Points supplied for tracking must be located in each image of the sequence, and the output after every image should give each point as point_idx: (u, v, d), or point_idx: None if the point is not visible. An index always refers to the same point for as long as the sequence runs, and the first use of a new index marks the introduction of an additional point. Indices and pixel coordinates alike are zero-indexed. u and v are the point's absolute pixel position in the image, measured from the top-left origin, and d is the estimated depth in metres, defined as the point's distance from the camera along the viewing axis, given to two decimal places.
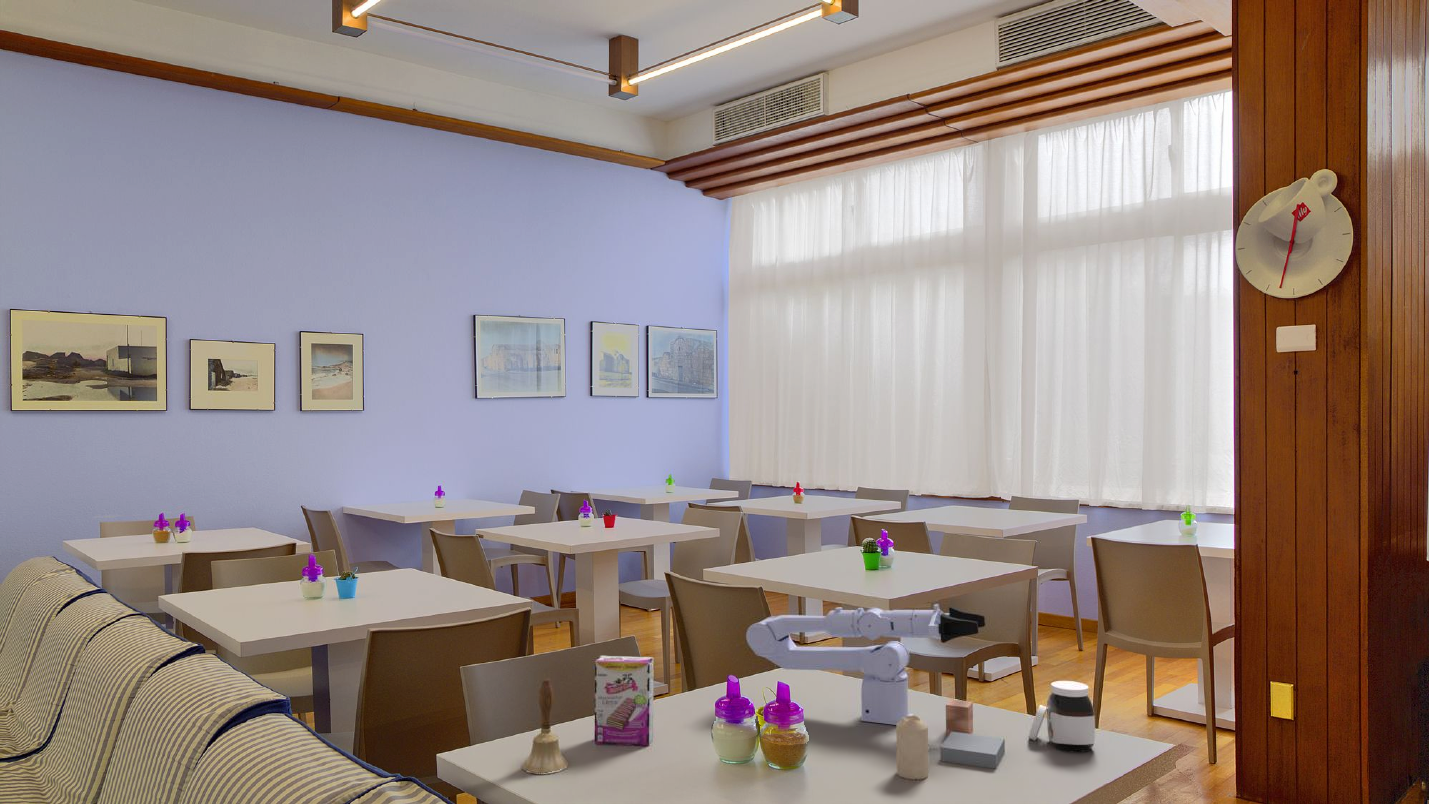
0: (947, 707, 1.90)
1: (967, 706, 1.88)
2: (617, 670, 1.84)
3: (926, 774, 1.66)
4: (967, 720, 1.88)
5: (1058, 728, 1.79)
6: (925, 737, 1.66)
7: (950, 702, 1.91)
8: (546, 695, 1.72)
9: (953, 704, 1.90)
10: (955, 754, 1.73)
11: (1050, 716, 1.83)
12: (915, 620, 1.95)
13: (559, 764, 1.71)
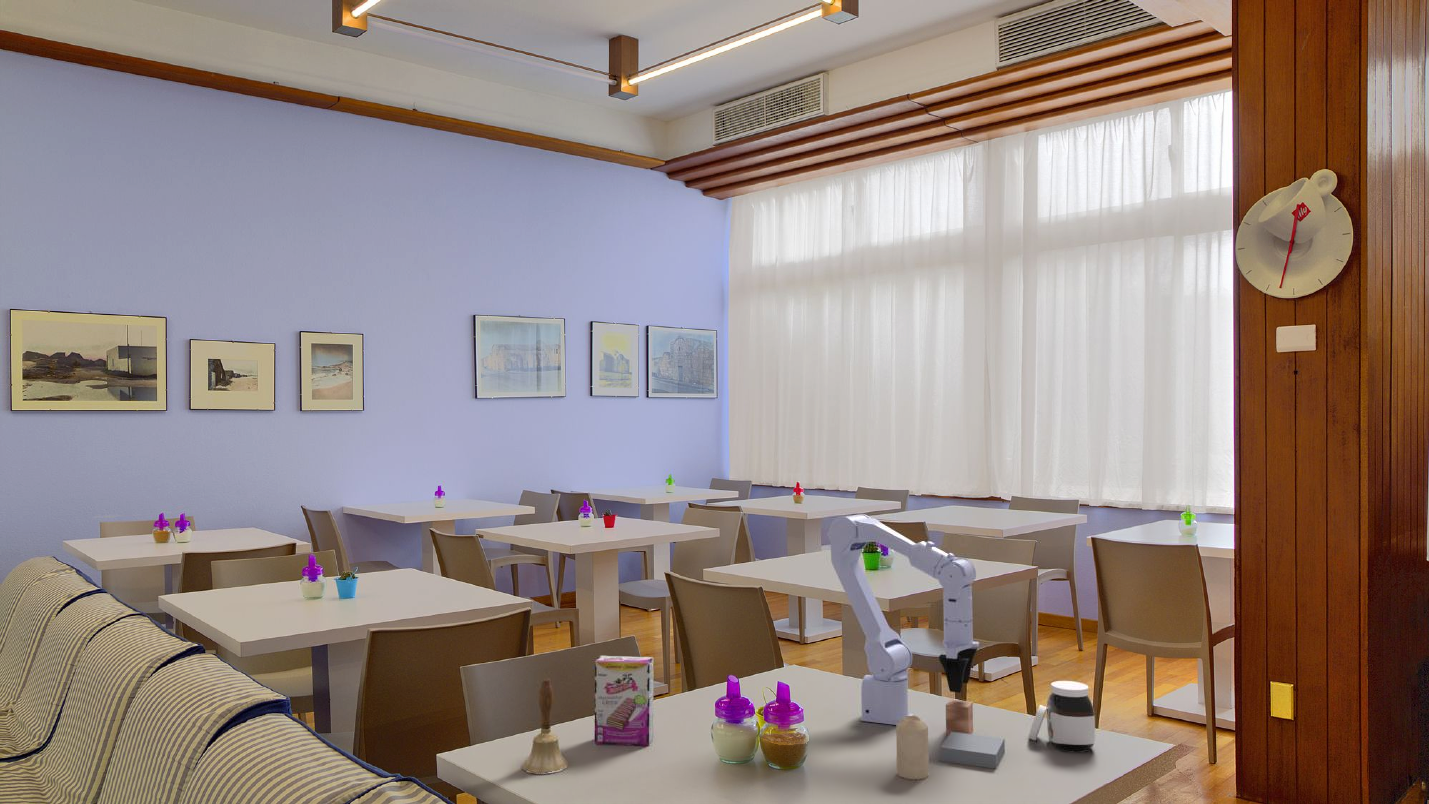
0: (947, 707, 1.90)
1: (967, 706, 1.88)
2: (617, 670, 1.84)
3: (926, 774, 1.66)
4: (967, 720, 1.88)
5: (1058, 728, 1.79)
6: (925, 737, 1.66)
7: (950, 702, 1.91)
8: (546, 695, 1.72)
9: (953, 704, 1.90)
10: (955, 754, 1.73)
11: (1050, 716, 1.83)
12: (961, 626, 1.88)
13: (559, 764, 1.71)
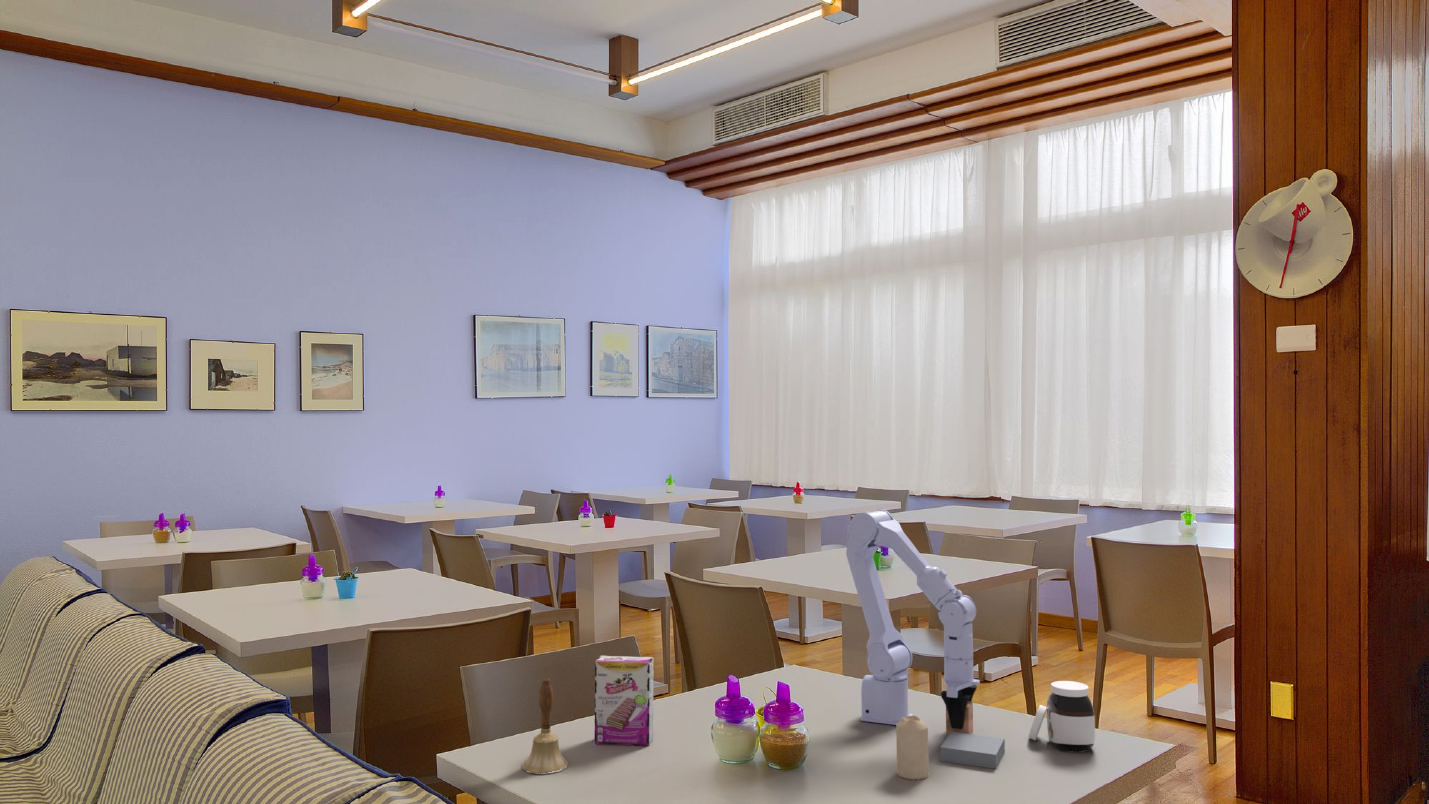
0: None
1: (967, 706, 1.88)
2: (617, 670, 1.84)
3: (926, 774, 1.66)
4: (967, 720, 1.88)
5: (1058, 728, 1.79)
6: (925, 737, 1.66)
7: None
8: (546, 695, 1.72)
9: None
10: (955, 754, 1.73)
11: (1050, 716, 1.83)
12: (961, 664, 1.88)
13: (559, 764, 1.71)
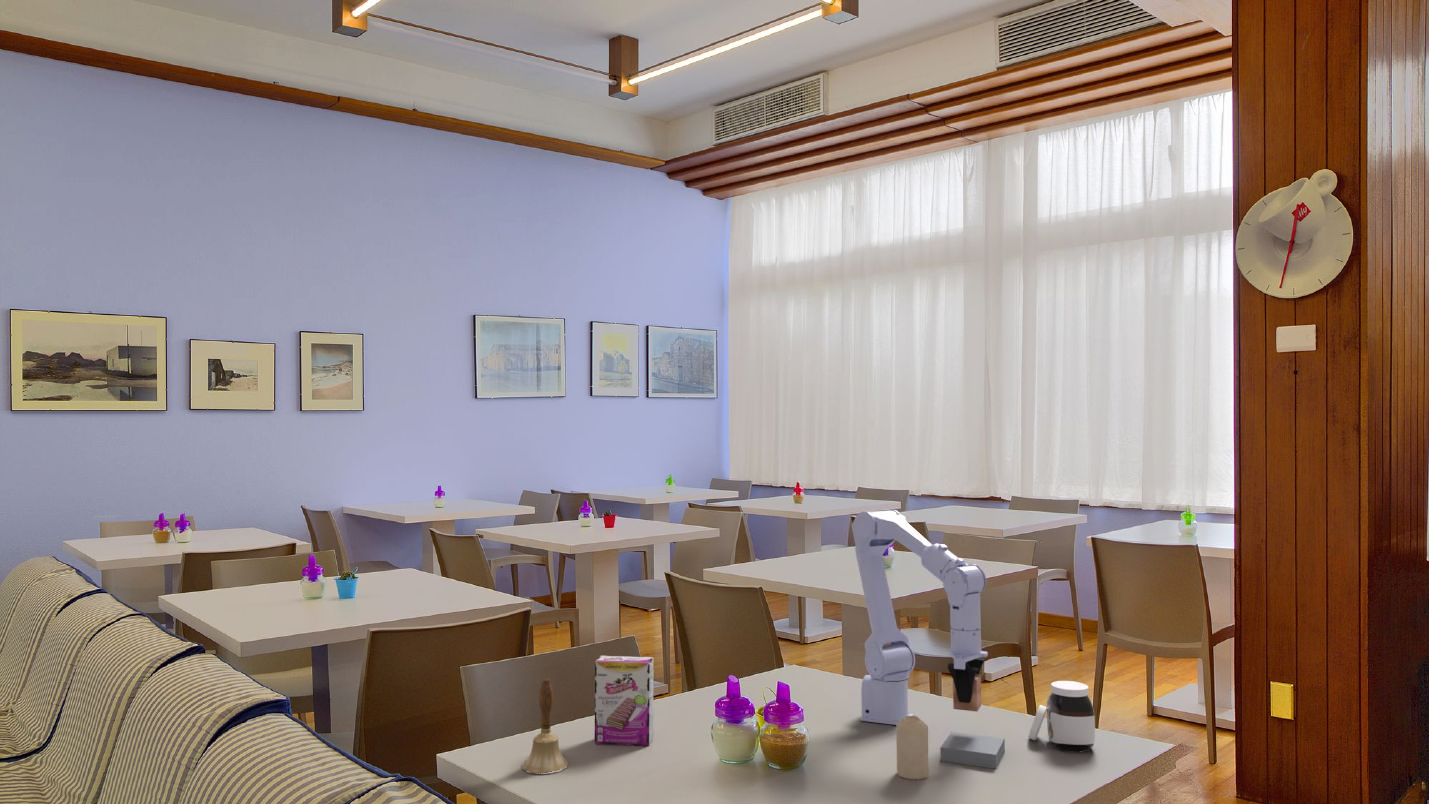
0: None
1: (975, 678, 1.81)
2: (617, 670, 1.84)
3: (926, 774, 1.66)
4: (975, 693, 1.80)
5: (1058, 728, 1.79)
6: (925, 737, 1.66)
7: None
8: (546, 695, 1.72)
9: None
10: (955, 754, 1.73)
11: (1050, 716, 1.83)
12: (969, 635, 1.81)
13: (559, 764, 1.71)
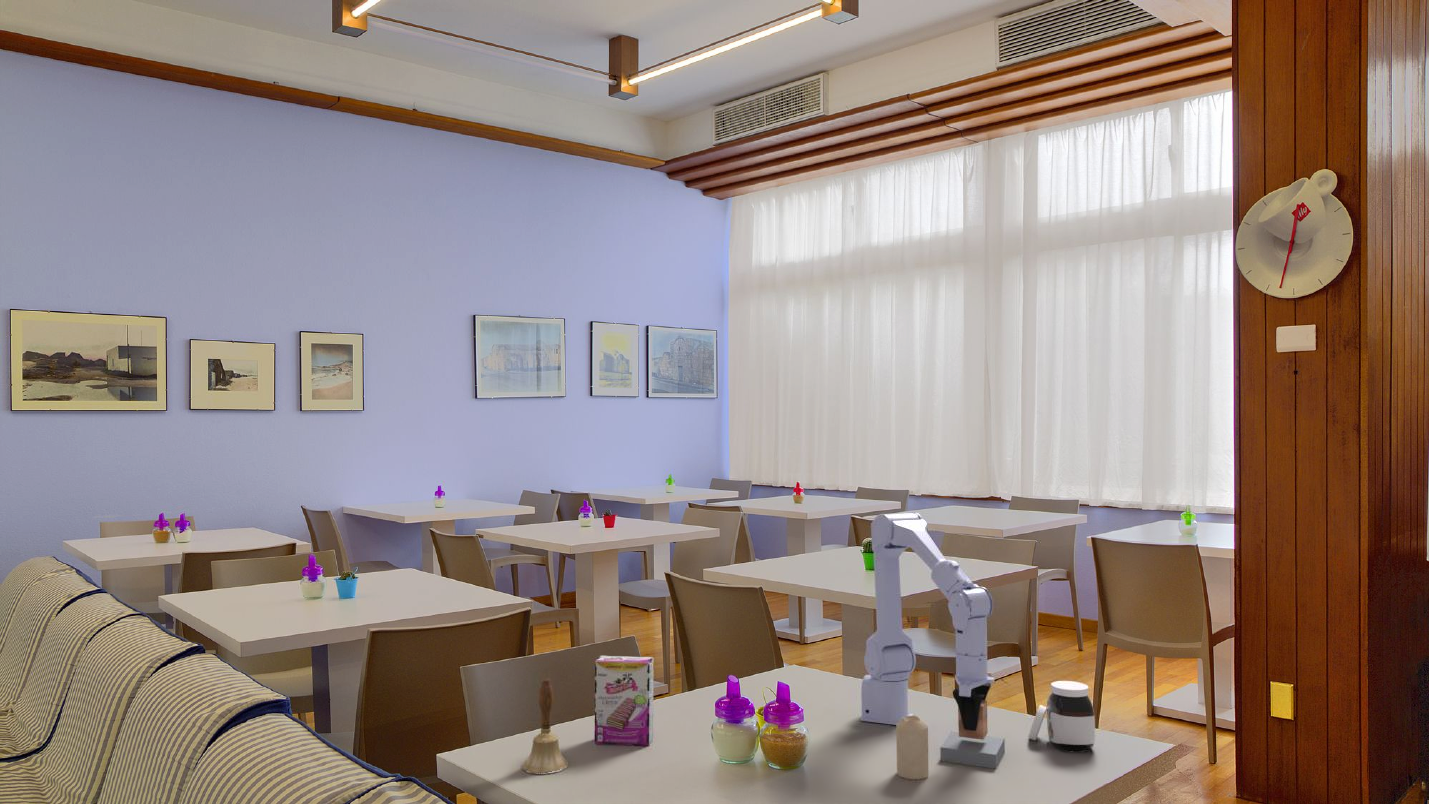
0: None
1: (981, 705, 1.75)
2: (617, 670, 1.84)
3: (926, 774, 1.66)
4: (981, 720, 1.74)
5: (1058, 728, 1.79)
6: (925, 737, 1.66)
7: None
8: (546, 695, 1.72)
9: None
10: (955, 754, 1.73)
11: (1050, 716, 1.83)
12: (975, 660, 1.74)
13: (559, 764, 1.71)
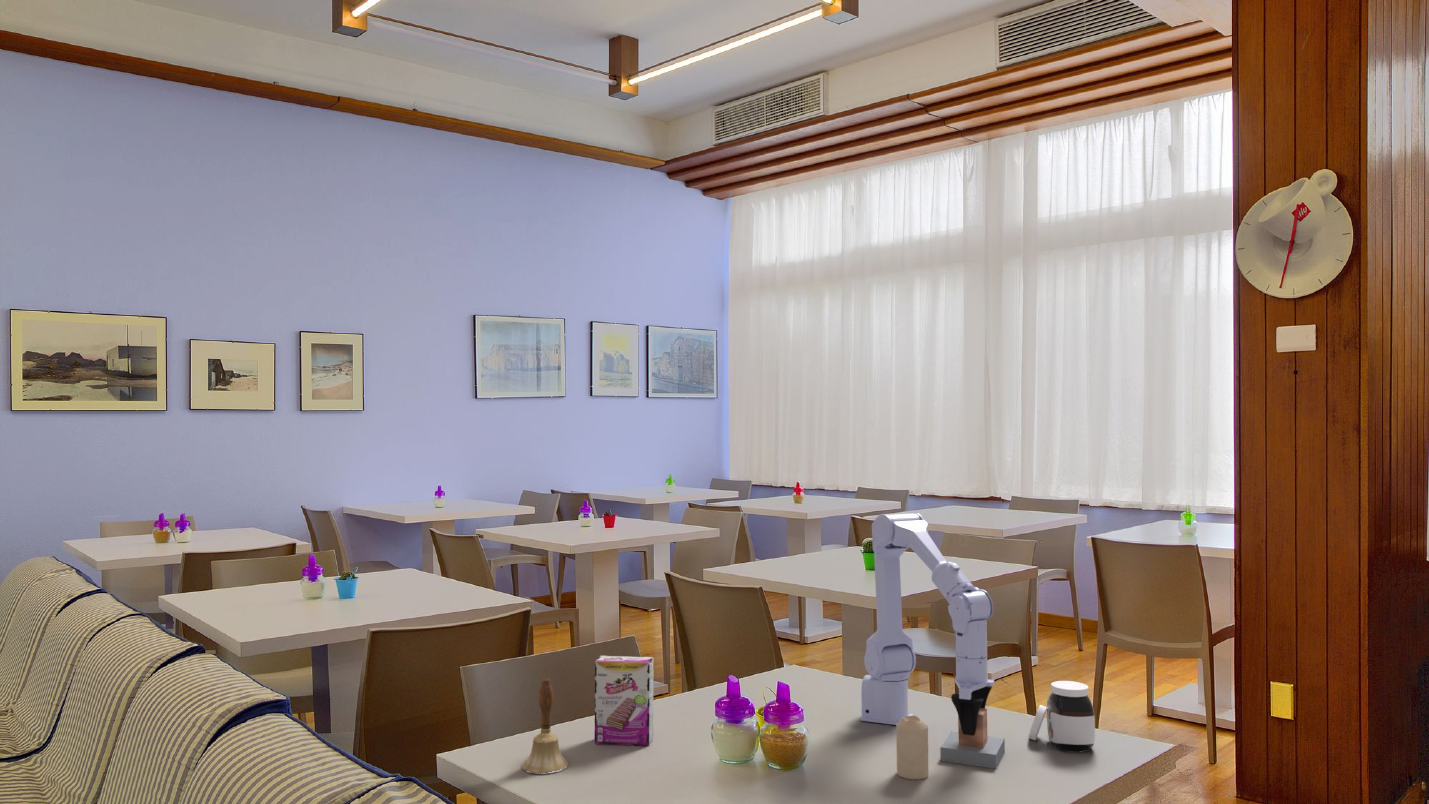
0: None
1: (981, 714, 1.75)
2: (617, 670, 1.84)
3: (926, 774, 1.66)
4: (981, 729, 1.74)
5: (1058, 728, 1.79)
6: (925, 737, 1.66)
7: None
8: (546, 695, 1.72)
9: None
10: (955, 754, 1.73)
11: (1050, 716, 1.83)
12: (975, 663, 1.74)
13: (559, 764, 1.71)
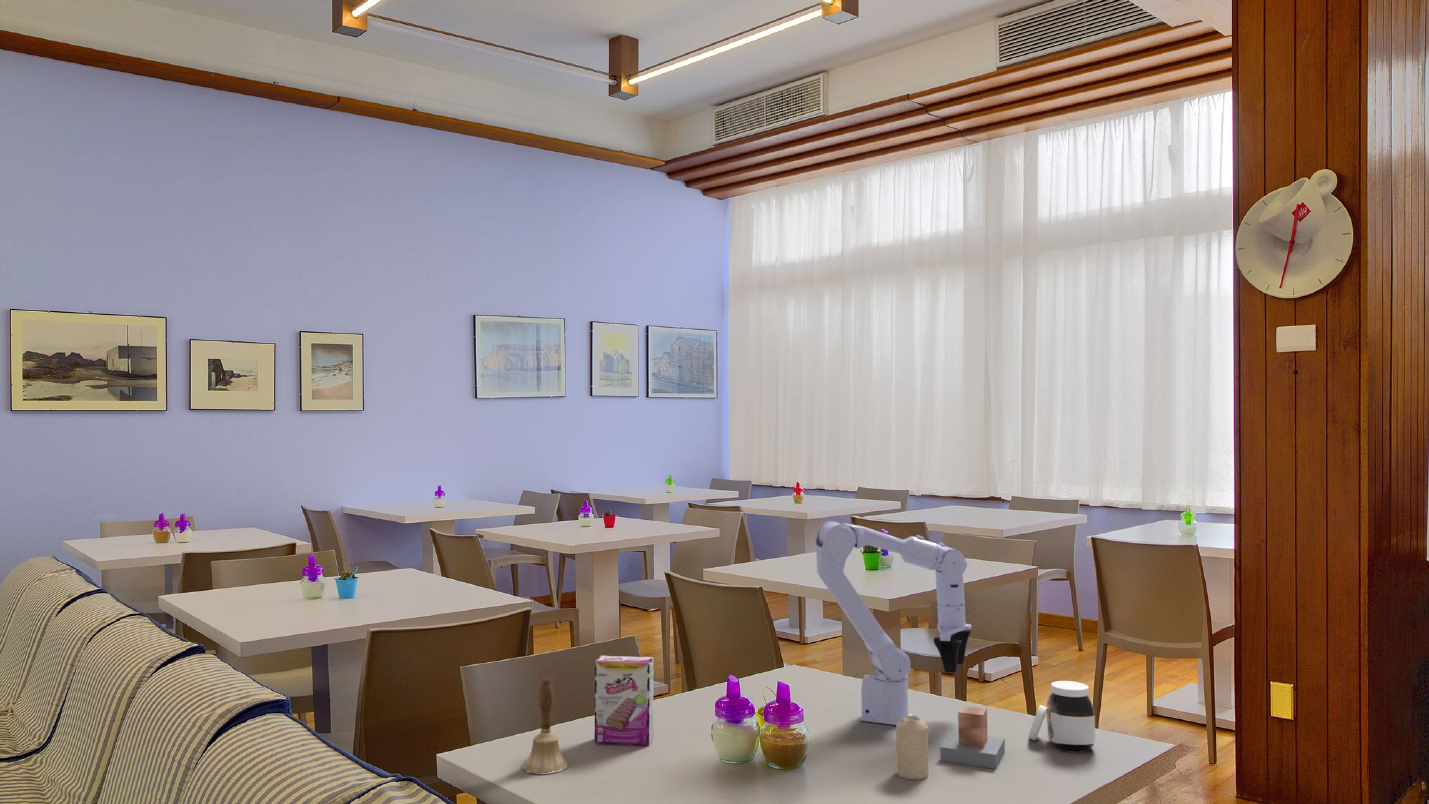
0: (960, 715, 1.76)
1: (981, 714, 1.75)
2: (617, 670, 1.84)
3: (926, 774, 1.66)
4: (981, 729, 1.74)
5: (1058, 728, 1.79)
6: (925, 737, 1.66)
7: (963, 709, 1.78)
8: (546, 695, 1.72)
9: (966, 711, 1.76)
10: (955, 754, 1.73)
11: (1050, 716, 1.83)
12: (953, 609, 1.99)
13: (559, 764, 1.71)
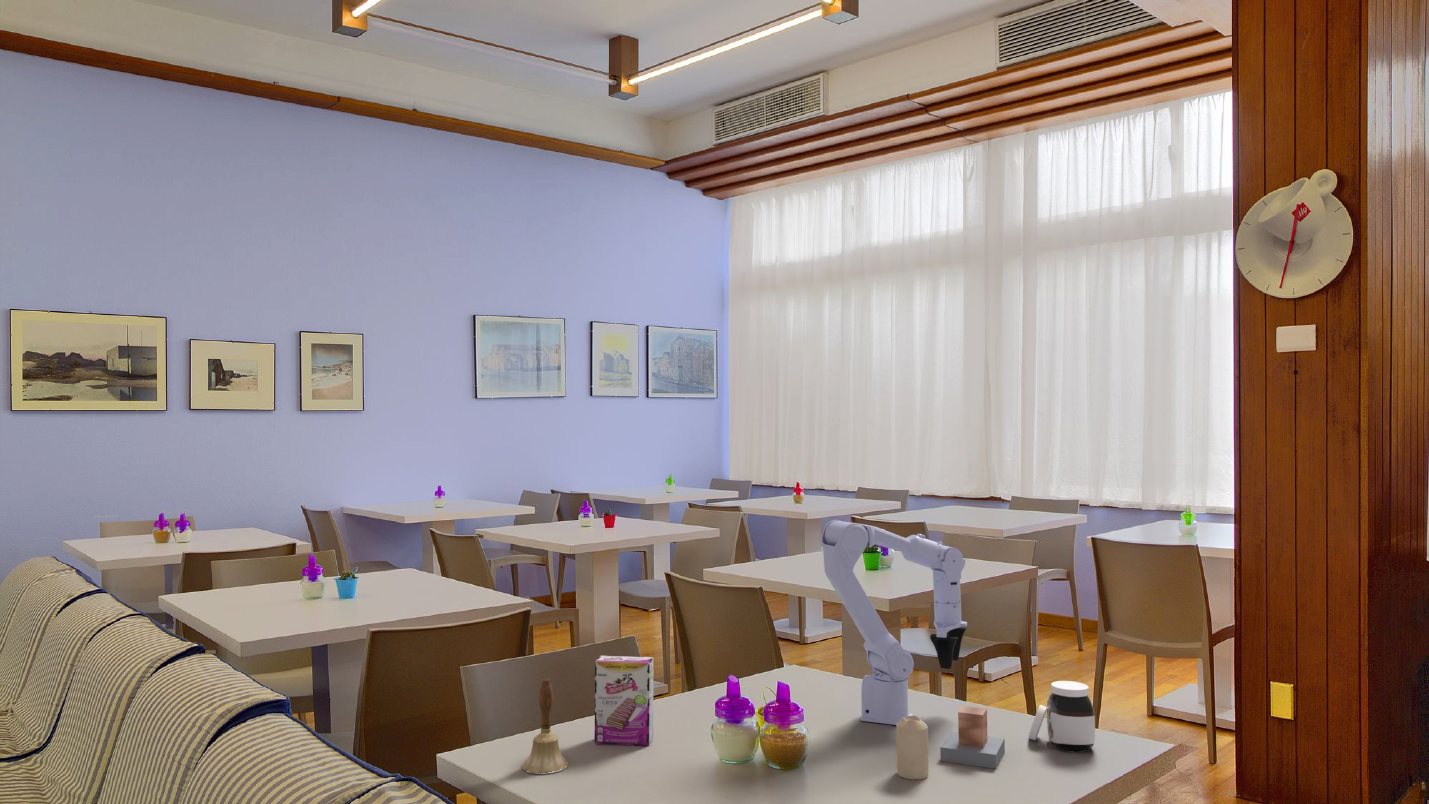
0: (960, 715, 1.76)
1: (981, 714, 1.75)
2: (617, 670, 1.84)
3: (926, 774, 1.66)
4: (981, 729, 1.74)
5: (1058, 728, 1.79)
6: (925, 737, 1.66)
7: (963, 709, 1.78)
8: (546, 694, 1.72)
9: (966, 711, 1.76)
10: (955, 754, 1.73)
11: (1050, 716, 1.83)
12: (950, 607, 2.02)
13: (559, 764, 1.71)
